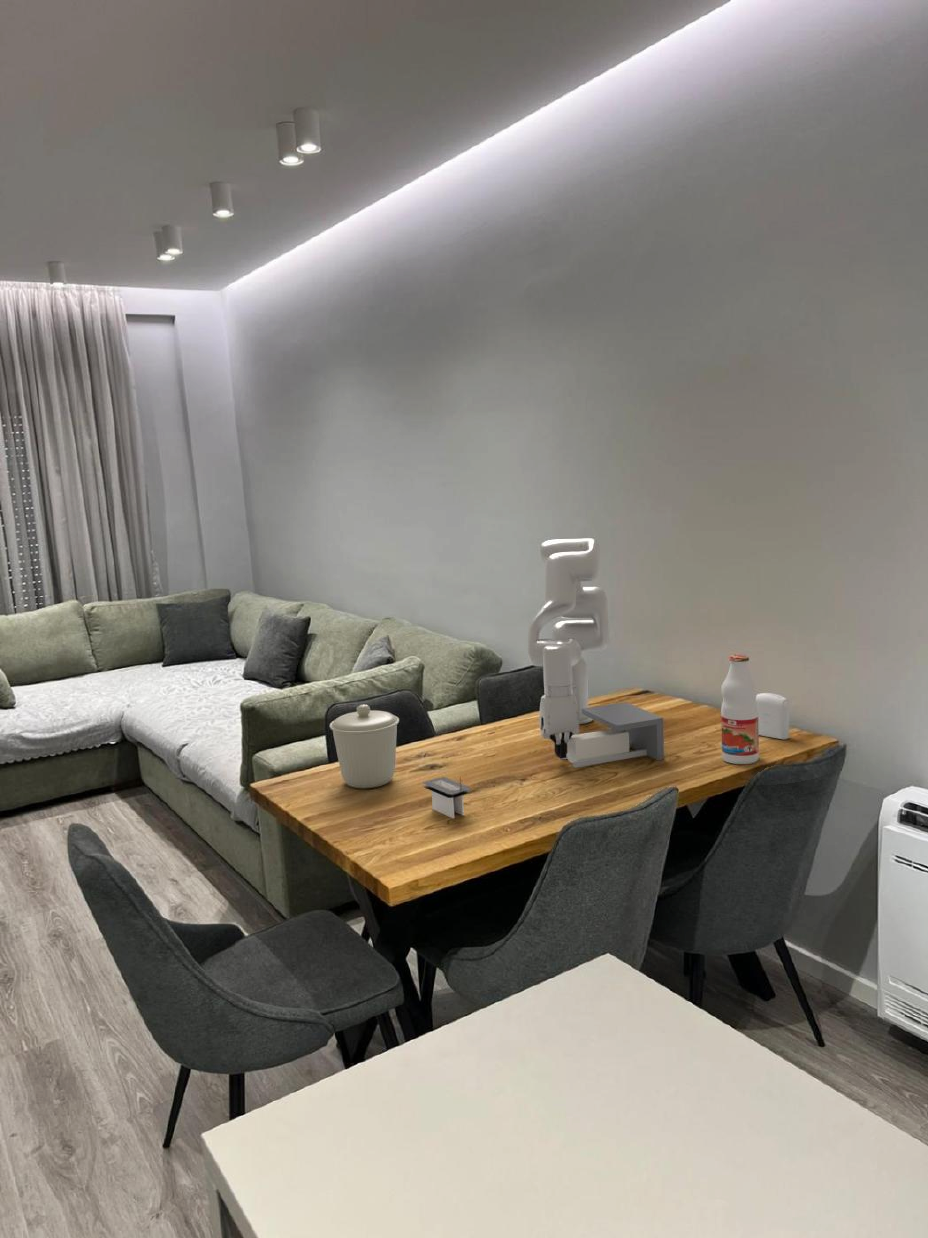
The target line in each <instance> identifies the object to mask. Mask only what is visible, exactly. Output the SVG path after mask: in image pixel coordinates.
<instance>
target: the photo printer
mask: <svg viewBox="0 0 928 1238" xmlns="http://www.w3.org/2000/svg"><path fill="white" fill-rule="evenodd" d="M756 703H757V705H758V713H759V715H758V725H759V736H761V737H762V736H763V737H768V738H773V739H779V740H782V741H783V740H784V741H785V740H787V739H789V738H790V703H789V700H788V698H786V697H784V696H783V695H780V694H778V693H777V694H776V693H770V692H762V693H757V696H756Z"/></svg>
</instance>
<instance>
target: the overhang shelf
mask: <svg viewBox="0 0 928 1238" xmlns="http://www.w3.org/2000/svg"><path fill="white" fill-rule="evenodd" d="M582 714H583V715H585V716H587V717H589V718H591V719H593V720H594V721H595V722H597V723H599V724H601V725H604V726H606V727H608V728H609V729H614V730H616V731H620V730H626V731H628V732H629V749H630V748H632V749H633V750H629V752H624V753H618V754H613V755H607V756H601V757H596V758H590V759H584V760H579V761H573V763H572V768H574V769H577V768H583V767H587V766H594V765H599V764H604V763H610V762H616V761H621V760H628V759H633V758H638V757H644V756H648V757H650V758H652V759H654V758H655V759H654V760H656V761H662V759H663V760H665V744H664V743H665V742H664V741H665V739H664V738H665V735H664V717H662V716H659V715H657V714H656V713H653V712H650V711H648V710H645V709H644V708H641V707H639V706H637V705H634V704H631V703H630V702H626V701H623V702H617V703H611V704H604V705H603V704H602V705H597V706H592V707H591V706H589V707H588V708H583V709H582ZM593 720H592V721H593ZM560 760H568V751H567V754H566V758H562V759H560Z"/></svg>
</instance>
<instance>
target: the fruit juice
mask: <svg viewBox="0 0 928 1238" xmlns="http://www.w3.org/2000/svg"><path fill="white" fill-rule="evenodd" d="M728 659H729V664H730V665H729V668H728V673H727V675H726V677H725V679H724V680H723V682H722V684H721V690H720V691H721V694H722V699H723V700H722V703H721V709H720V711H721V712H720V715H721V716H720V718H721V720H720V721H721V722H720V723H721V725H720V726H721V729H720V731H721V758H722V760H723V761H724V762H725V763H726V762H727V763H728V764H733V765H750V764H754V763H757V762H758V760H759V757H760V753H759V752H760V751H759V748H760V747H759V736H760V735H759V725H758V715H759V713H758V705H757V703H756V696H757V695H758V692H759V690H758V689H759V688H758V684H757V682H756V681H755V679H754V678H753V676H752V673H751V670H750V668H749V661H750V657H749V655H747V654H742V653H741V654H740V653H739V654H738V653H736V654H730V655H729V658H728Z"/></svg>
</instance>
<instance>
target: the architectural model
mask: <svg viewBox="0 0 928 1238" xmlns="http://www.w3.org/2000/svg"><path fill="white" fill-rule="evenodd" d="M422 784H423V786H422V787H423V788H425V789H427V790H429V791H431V802H432V810H433V811H436V812H437V813H439V814H442V815H445V816H447V817H449V818H451V819H455V813H456V814H459V815H461V816H465V811H464V809H465V807H464V795H467V794H469V793H471V790H469V789H471V787H470V786H467V785H466V784H463V783H462V777H461V776H459V782H458V781H455V780H453V779H450V778H448V777H445V776H440V777H437V778H433V779H430V780H427V781H423V782H422Z"/></svg>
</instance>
